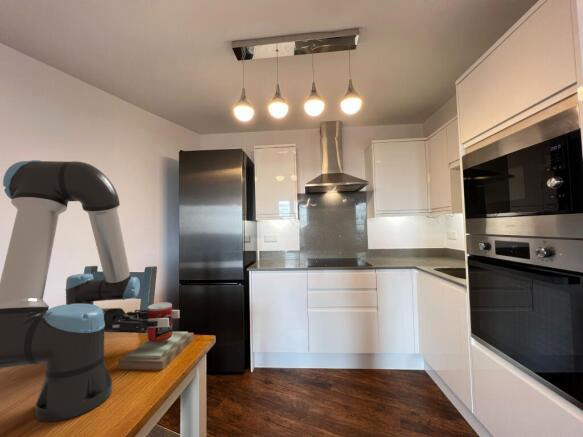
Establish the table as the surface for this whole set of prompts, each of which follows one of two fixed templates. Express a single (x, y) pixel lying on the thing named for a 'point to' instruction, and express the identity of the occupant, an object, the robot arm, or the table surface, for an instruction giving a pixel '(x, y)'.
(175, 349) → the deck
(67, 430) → the table surface
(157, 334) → the canned food
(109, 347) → the table surface
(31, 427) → the table surface
